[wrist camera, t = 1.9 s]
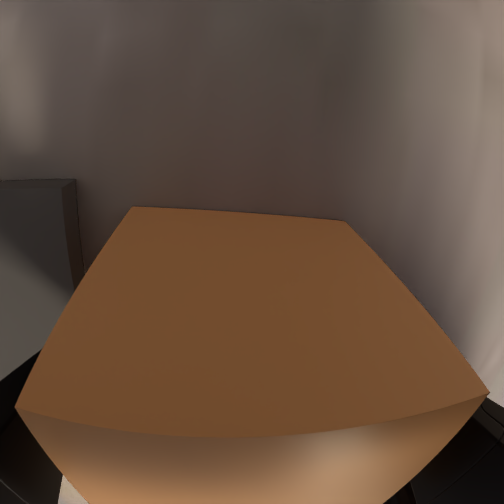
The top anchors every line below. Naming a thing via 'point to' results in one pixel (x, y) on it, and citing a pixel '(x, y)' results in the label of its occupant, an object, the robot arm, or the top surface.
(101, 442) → the rounded wooden cube
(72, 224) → the dark gray mat
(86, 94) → the top surface
